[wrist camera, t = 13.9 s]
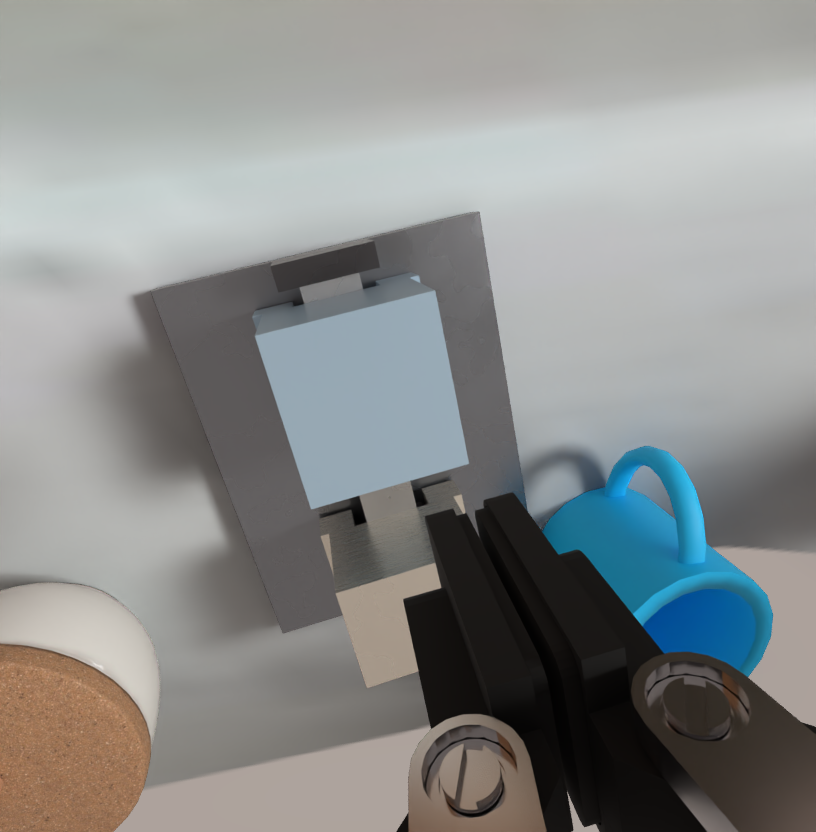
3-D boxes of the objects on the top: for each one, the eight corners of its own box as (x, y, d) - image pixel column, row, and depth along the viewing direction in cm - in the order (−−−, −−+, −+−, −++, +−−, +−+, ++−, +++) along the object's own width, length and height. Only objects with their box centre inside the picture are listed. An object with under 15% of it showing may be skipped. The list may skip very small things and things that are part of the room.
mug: (652, 598, 34) (753, 704, 27) (528, 615, 33) (598, 733, 25) (682, 416, 30) (811, 481, 23) (543, 427, 29) (631, 500, 21)
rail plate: (472, 212, 25) (538, 208, 18) (527, 544, 31) (590, 633, 24) (156, 288, 23) (100, 315, 16) (283, 620, 30) (279, 736, 23)
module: (411, 271, 24) (446, 287, 18) (439, 410, 26) (479, 460, 21) (254, 310, 23) (242, 339, 17) (298, 449, 25) (300, 512, 20)
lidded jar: (41, 749, 29) (-65, 969, 21) (-111, 608, 25) (-322, 809, 17) (223, 657, 30) (193, 837, 21) (100, 503, 26) (1, 647, 17)
